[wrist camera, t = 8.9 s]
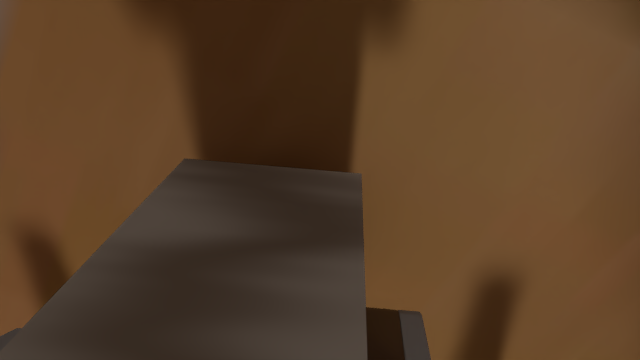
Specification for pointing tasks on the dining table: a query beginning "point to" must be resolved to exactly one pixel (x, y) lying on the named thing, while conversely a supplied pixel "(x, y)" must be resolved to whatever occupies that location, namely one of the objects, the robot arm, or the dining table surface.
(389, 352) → the robot arm
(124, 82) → the dining table surface
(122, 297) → the cream block
